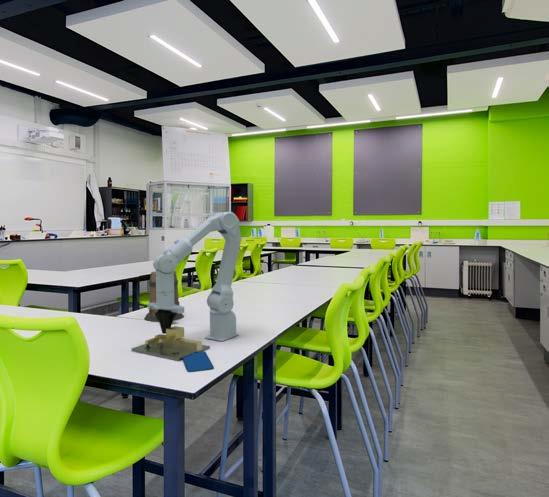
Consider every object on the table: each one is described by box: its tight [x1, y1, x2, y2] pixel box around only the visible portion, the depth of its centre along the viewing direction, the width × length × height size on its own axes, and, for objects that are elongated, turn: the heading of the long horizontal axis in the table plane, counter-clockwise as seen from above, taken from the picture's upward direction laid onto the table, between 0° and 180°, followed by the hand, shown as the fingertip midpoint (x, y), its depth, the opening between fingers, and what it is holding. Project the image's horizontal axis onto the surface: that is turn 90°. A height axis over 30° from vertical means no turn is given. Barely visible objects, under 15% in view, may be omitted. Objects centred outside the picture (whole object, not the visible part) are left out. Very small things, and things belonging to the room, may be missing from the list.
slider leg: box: [159, 325, 185, 350], centre depth 127 cm, size 8×4×5 cm, turn 150°
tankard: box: [143, 270, 185, 323], centre depth 170 cm, size 24×17×20 cm
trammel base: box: [130, 333, 211, 362], centre depth 127 cm, size 14×20×3 cm
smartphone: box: [181, 350, 215, 373], centre depth 115 cm, size 7×1×15 cm
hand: (166, 333), depth 131 cm, fingers closed
